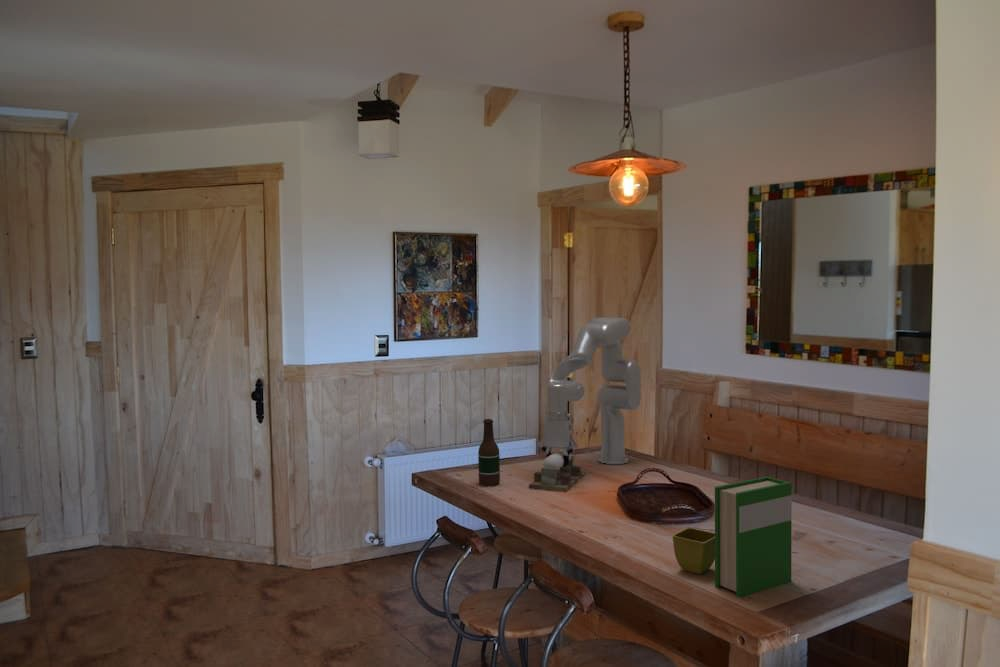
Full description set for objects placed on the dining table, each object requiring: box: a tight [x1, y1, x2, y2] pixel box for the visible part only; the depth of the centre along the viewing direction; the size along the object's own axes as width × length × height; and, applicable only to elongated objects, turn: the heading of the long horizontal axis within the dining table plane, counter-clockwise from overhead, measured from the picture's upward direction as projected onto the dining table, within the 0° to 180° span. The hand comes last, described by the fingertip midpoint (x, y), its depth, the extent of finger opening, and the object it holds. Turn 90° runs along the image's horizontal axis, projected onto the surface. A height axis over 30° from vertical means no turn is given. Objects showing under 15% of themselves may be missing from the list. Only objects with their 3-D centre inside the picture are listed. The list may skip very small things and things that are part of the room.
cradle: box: [528, 455, 587, 493], centre depth 281 cm, size 25×14×8 cm, turn 158°
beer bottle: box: [477, 418, 501, 487], centre depth 279 cm, size 8×8×24 cm
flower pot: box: [672, 527, 715, 575], centre depth 190 cm, size 9×9×9 cm
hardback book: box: [714, 476, 793, 599], centre depth 180 cm, size 18×7×24 cm, turn 120°
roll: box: [542, 448, 572, 470], centre depth 280 cm, size 16×6×6 cm, turn 158°
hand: (557, 464), depth 280 cm, fingers closed on roll, 5 cm apart
